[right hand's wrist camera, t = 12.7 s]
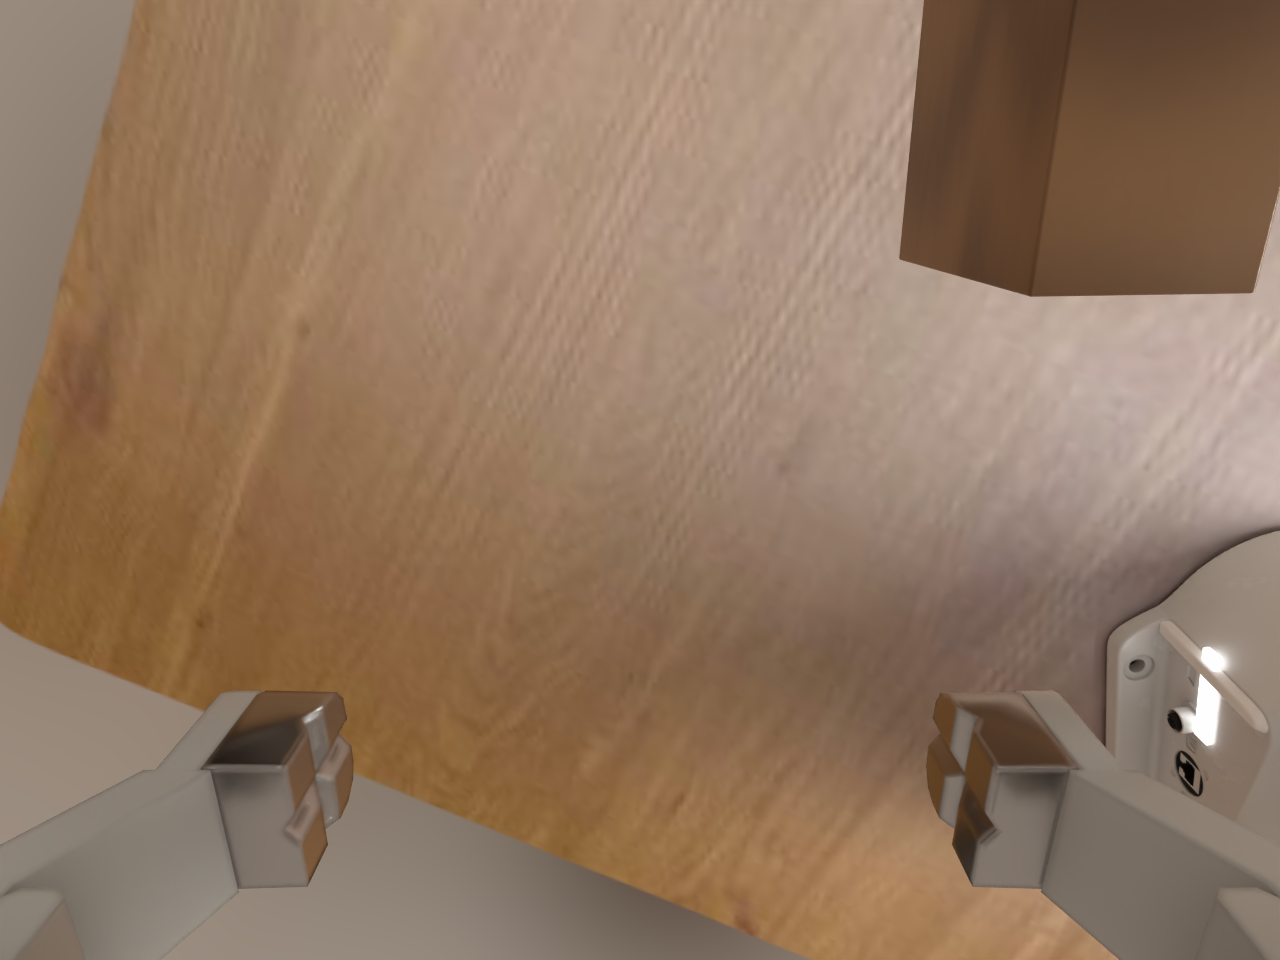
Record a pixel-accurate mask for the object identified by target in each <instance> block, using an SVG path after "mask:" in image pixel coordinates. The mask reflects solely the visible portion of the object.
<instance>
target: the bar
mask: <svg viewBox="0 0 1280 960" xmlns="http://www.w3.org/2000/svg"><path fill="white" fill-rule="evenodd" d="M1279 193H1280V0H924V7H923V18H922V28H921V39H920V49H919V59H918V70H917V80H916V91H915V101H914V111H913V122H912V132H911V143H910V153H909V163H908V174H907V184H906V195H905V205H904V215H903V226H902V236H901V247H900V257H899V258H900V260H903V261H907V262H910V263H914V264H917V265H921V266H925V267H928V268H932V269H935V270H939V271H942V272H946V273H949V274H953V275H956V276H960V277H963V278H967V279H970V280H974V281H977V282H981V283H985V284H988V285H992V286H995V287H999V288H1002V289H1006V290H1009V291H1013V292H1016V293H1020V294H1023V295H1027V296H1030V297H1038V296H1102V295H1166V294H1231V293H1252V292H1254V291H1255V288H1256V284H1257V280H1258V276H1259V272H1260V268H1261V265H1262V261H1263V257H1264V253H1265V249H1266V245H1267V241H1268V237H1269V233H1270V229H1271V225H1272V221H1273V217H1274V213H1275V209H1276V205H1277V201H1278V197H1279Z"/></svg>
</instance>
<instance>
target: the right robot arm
mask: <svg viewBox="0 0 1280 960" xmlns="http://www.w3.org/2000/svg"><path fill="white" fill-rule="evenodd" d="M1136 659H1137V660H1136ZM1134 660H1136V661H1135V662H1134V663H1133V664H1131V665H1130V663H1131V662H1132V661H1134ZM346 719H347V716H346V711H345V706H344V701H343V697H341V696H340V695H339V694H338V693H337V692H307V691H227V692H224V693H221V694H220V695H219V696H218V697H217V698H216V699H215V700H214V701H213V703H212V704H211V705H210V706H209V707H208V709H207V710H206V711H205V712H204V713H203V714H202V716H201V717H200V718H199V719H198V720H197V722H196V723H195V724H194V725H193V726H192V727H191V729H190V730H189V731H188V732H187V733H186V735H185V736H184V737H183V738H182V739H181V740H180V742H179V743H178V744H177V745H176V746H175V748H174V749H173V750H172V751H171V752H170V754H169V755H168V756H167V757H166V758H165V759H164V761H163V762H162V763H161V764H160V765H159V767H158V768H157V769H156V770H143V771H141V772H139V773H137V774H135V775H133V776H131V777H129V778H127V779H126V780H124V781H122V782H120V783H118V784H116V785H114V786H112V787H110V788H108V789H106V790H104V791H103V792H101V793H99V794H97V795H95V796H93V797H91V798H89V799H87V800H85V801H83V802H82V803H80V804H78V805H76V806H74V807H72V808H70V809H68V810H66V811H64V812H62V813H61V814H59V815H57V816H55V817H53V818H51V819H49V820H47V821H45V822H43V823H41V824H39V825H38V826H36V827H34V828H32V829H30V830H28V831H26V832H24V833H22V834H20V835H18V836H16V837H15V838H13V839H11V840H9V841H7V842H5V843H3V844H1V845H0V960H161V959H162V958H163V957H164V956H166V955H167V954H168V953H169V952H170V951H171V950H172V949H174V948H175V947H176V946H177V945H178V944H180V943H181V942H182V941H183V940H184V939H185V938H186V937H188V936H189V935H190V934H191V933H192V932H193V931H195V930H196V929H197V928H198V927H199V926H200V925H202V924H203V923H204V922H205V921H206V920H207V919H208V918H210V917H211V916H212V915H213V914H214V913H215V912H217V911H218V910H219V909H220V908H221V907H222V906H224V905H225V904H226V903H227V902H228V901H229V900H231V899H232V898H233V897H234V896H235V895H236V894H237V893H238V892H239V891H238V889H245V888H279V887H307V886H308V884H309V882H310V880H311V878H312V876H313V874H314V872H315V870H316V868H317V866H318V864H319V862H320V860H321V858H322V856H323V854H324V851H325V849H326V847H327V845H328V843H327V836H326V830H325V829H326V828H327V827H329V826H330V825H331V824H333V823H334V822H336V821H337V820H338V819H340V818H341V816H342V814H343V811H344V809H345V807H346V805H347V803H348V800H349V795H350V791H351V786H352V782H353V754H352V747H351V745H350V744H349V743H348V742H347V741H346V740H345V739H344V738H343V737H342V736H341V735H340V734H339V732H340V730H341V729H342V727H343V725H344V723H345V721H346ZM933 719H934V721H935V723H936V725H937V727H938V729H939V730H940V732H941V734H940V735H939V736H938V737H937V738H936V739H935V740H934V741H933V742H932V743H931V744H930V745H929V748H928V756H927V765H926V769H927V780H928V789H929V792H930V796H931V799H932V803H933V805H934V807H935V809H936V812H937V814H938V816H939V818H940V819H942V820H943V821H944V822H946V823H947V824H949V825H950V826H951V827H953V828H954V829H955V830H954V836H953V842H952V845H953V847H954V849H955V851H956V854H957V856H958V858H959V860H960V862H961V864H962V866H963V868H964V870H965V872H966V874H967V876H968V878H969V880H970V882H971V884H972V886H973V887H998V888H1034V889H1042V890H1041V892H1042V893H1043V894H1044V895H1045V896H1046V897H1047V898H1049V899H1050V900H1051V901H1052V902H1053V903H1054V904H1056V905H1057V906H1058V907H1059V908H1060V909H1061V910H1063V911H1064V912H1065V913H1066V914H1067V915H1068V916H1069V917H1071V918H1072V919H1073V920H1074V921H1075V922H1076V923H1078V924H1079V925H1080V926H1081V927H1082V928H1083V929H1085V930H1086V931H1087V932H1088V933H1089V934H1090V935H1091V936H1093V937H1094V938H1095V939H1096V940H1097V941H1098V942H1100V943H1101V944H1102V945H1103V946H1104V947H1105V948H1107V949H1108V950H1109V951H1110V952H1111V953H1112V954H1113V955H1115V956H1116V957H1117V958H1118V959H1119V960H1280V531H1275V532H1271V533H1268V534H1264V535H1261V536H1258V537H1255V538H1253V539H1250V540H1248V541H1245V542H1243V543H1241V544H1239V545H1236V546H1234V547H1232V548H1230V549H1229V550H1227V551H1225V552H1223V553H1221V554H1220V555H1218V556H1217V557H1215V558H1213V559H1212V560H1211V561H1209V562H1208V563H1206V564H1205V565H1204V566H1202V567H1201V568H1200V569H1198V570H1197V571H1196V572H1195V573H1194V574H1192V575H1191V576H1190V577H1189V578H1188V579H1187V580H1186V581H1185V582H1184V583H1183V584H1182V585H1181V586H1180V587H1179V588H1178V589H1177V590H1176V591H1175V592H1174V593H1173V594H1172V595H1170V596H1169V597H1168V598H1167V599H1166V600H1165V601H1163V602H1162V603H1161V604H1159V605H1158V606H1156V607H1154V608H1152V609H1150V610H1148V611H1146V612H1144V613H1142V614H1140V615H1138V616H1136V617H1134V618H1132V619H1130V620H1128V621H1127V622H1125V623H1123V624H1122V625H1120V626H1119V627H1118V628H1116V629H1115V630H1114V631H1113V632H1112V634H1111V635H1110V637H1109V639H1108V642H1107V675H1106V748H1105V746H1104V745H1103V744H1102V743H1101V742H1100V741H1099V739H1098V738H1097V737H1096V736H1095V735H1094V733H1093V732H1092V731H1091V730H1090V729H1089V728H1088V726H1087V725H1086V724H1085V723H1084V722H1083V720H1082V719H1081V718H1080V717H1079V716H1078V715H1077V713H1076V712H1075V711H1074V710H1073V709H1072V707H1071V706H1070V705H1069V704H1068V703H1067V702H1066V700H1065V699H1064V698H1063V697H1062V696H1061V695H1060V694H1059V693H1057V692H1055V691H1053V690H1036V691H1014V692H985V693H940V695H939V697H938V699H937V701H936V704H935V710H934V715H933Z"/></svg>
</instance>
